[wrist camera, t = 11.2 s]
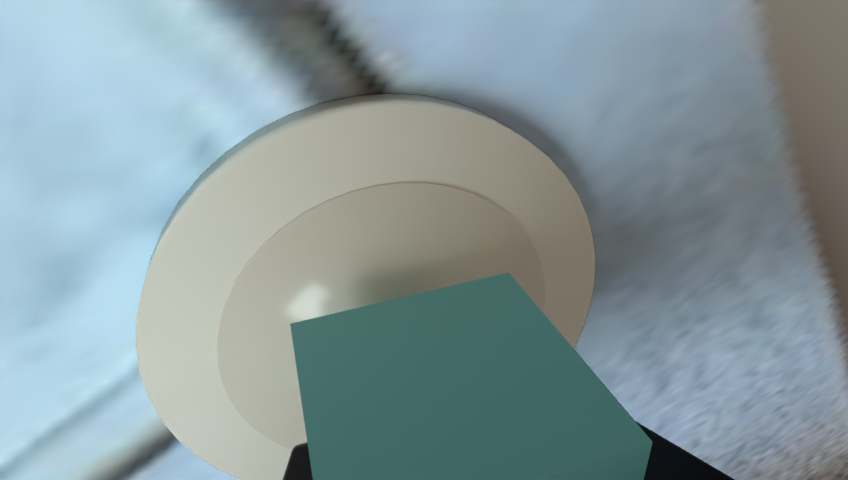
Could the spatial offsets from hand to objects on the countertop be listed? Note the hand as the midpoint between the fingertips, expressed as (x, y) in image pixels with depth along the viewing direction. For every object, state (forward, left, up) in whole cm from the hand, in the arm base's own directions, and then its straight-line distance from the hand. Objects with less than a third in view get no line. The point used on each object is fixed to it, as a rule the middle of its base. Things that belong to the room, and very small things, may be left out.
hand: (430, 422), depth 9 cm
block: (0, 0, -1) cm, 1 cm away
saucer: (0, 0, -4) cm, 4 cm away
